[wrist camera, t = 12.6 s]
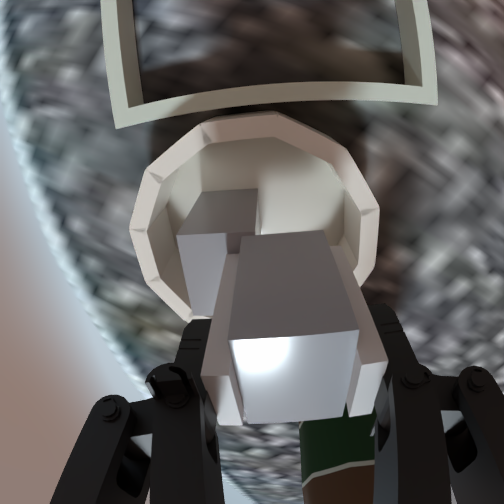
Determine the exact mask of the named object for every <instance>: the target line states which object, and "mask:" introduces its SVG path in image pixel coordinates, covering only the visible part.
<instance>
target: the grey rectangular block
mask: <svg viewBox="0 0 504 504" xmlns="http://www.w3.org/2000/svg"><path fill="white" fill-rule="evenodd" d="M251 235H261V226H260V210H259V194H258V188H254V189H236V190H220V191H206V192H201V194H200V195H199V197H198V199H197V200H196V202H195V204H194V205H193V207H192V209H191V211H190V212H189V214H188V216H187V217H186V219H185V221H184V222H183V224H182V226H181V228H180V229H179V231H178V233H177V235H176V238H177V243H178V248H179V253H180V258H181V263H182V267H183V272H184V277H185V281H186V286H187V290H188V295H189V299H190V304H191V308H192V312H193V316H213V313H214V308H215V303H216V299H217V294H218V290H219V285H220V280H221V276H222V272H223V267H224V263H225V258H226V254H238V253H239V252H240V245H241V238H242V236H251Z"/></svg>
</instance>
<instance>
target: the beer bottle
mask: <svg viewBox="0 0 504 504" xmlns="http://www.w3.org/2000/svg"><path fill="white" fill-rule="evenodd" d="M376 418H377V413H376V409H375V405H374V407H373V410H372V413H371V414H366V415H360V416H353V417H349V414H348V409H347V403H345V407H344V412H343V416H342V417H335V418H327V419H318V420H308V421H299V434H300V452H301V472H302V490H303V498H304V504H373V496H374V470H375V433H374V435H373V436H370V434H371V430H372V427H373V425H374V423H375V420H376Z"/></svg>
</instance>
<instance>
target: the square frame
mask: <svg viewBox="0 0 504 504" xmlns="http://www.w3.org/2000/svg"><path fill="white" fill-rule="evenodd" d="M395 5H396V11H397V17H398V23H399V30H400V38H401V46H402V55H403V65H404V78H405V85H401V84H388V83H372V82H294V83H277V84H265V85H254V86H245V87H236V88H228V89H221V90H214V91H208V92H202V93H196V94H190V95H185V96H179V97H174V98H170V99H165V100H160V101H156V102H151V103H147V104H144V100H143V94H142V87H141V80H140V72H139V65H138V57H137V48H136V39H135V29H134V18H133V6H132V0H101V17H102V30H103V42H104V52H105V61H106V69H107V77H108V84H109V91H110V98H111V104H112V110H113V116H114V122H115V127H116V129H119V128H123V127H127V126H131V125H135V124H139V123H143V122H148V121H152V120H157V119H162V118H167V117H172V116H177V115H182V114H188V113H194V112H200V111H206V110H213V109H220V108H227V107H235V106H244V105H253V104H264V103H276V102H291V101H313V100H371V101H392V102H407V103H418V104H428V105H437V106H438V94H437V76H436V63H435V53H434V44H433V36H432V29H431V22H430V16H429V10H428V5H427V0H395Z"/></svg>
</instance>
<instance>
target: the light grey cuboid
mask: <svg viewBox="0 0 504 504" xmlns="http://www.w3.org/2000/svg"><path fill="white" fill-rule="evenodd" d="M358 336H359V327H358V324H357V321H356V318H355V315H354V312H353V309H352V306H351V303H350V300H349V298H348V295H347V292H346V289H345V286H344V284H343V281H342V278H341V275H340V273H339V270H338V267H337V265H336V262H335V259H334V257H333V254H332V251H331V249H330V246H329V244H328V241H327V239H326V236H325V234H324V231H323V230H313V231H300V232H287V233H275V234H263V235H251V236H242V238H241V245H240V252H239V259H238V266H237V273H236V280H235V288H234V295H233V302H232V309H231V317H230V324H229V331H228V339H227V341H228V346H229V350H230V354H231V358H232V362H233V366H234V370H235V375H236V379H237V383H238V387H239V391H240V394H241V398H242V402H243V406H244V410H245V414H246V418H247V421H248V424H261V423H282V422H297V421H308V420H318V419H327V418H335V417H342V416H343V412H344V407H345V403H346V398H347V393H348V388H349V384H350V379H351V374H352V369H353V363H354V358H355V352H356V347H357V342H358Z"/></svg>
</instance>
